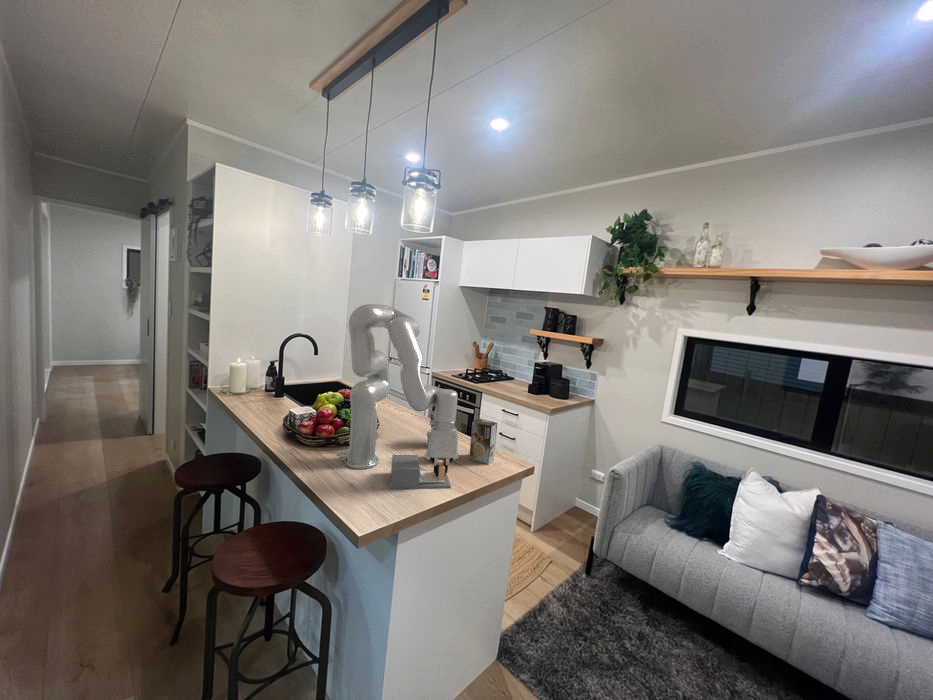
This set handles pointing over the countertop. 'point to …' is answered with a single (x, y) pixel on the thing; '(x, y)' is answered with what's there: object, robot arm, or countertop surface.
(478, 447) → the coffee box
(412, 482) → the dispenser
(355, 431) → the robot arm
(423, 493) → the countertop surface
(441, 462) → the sliding tray
